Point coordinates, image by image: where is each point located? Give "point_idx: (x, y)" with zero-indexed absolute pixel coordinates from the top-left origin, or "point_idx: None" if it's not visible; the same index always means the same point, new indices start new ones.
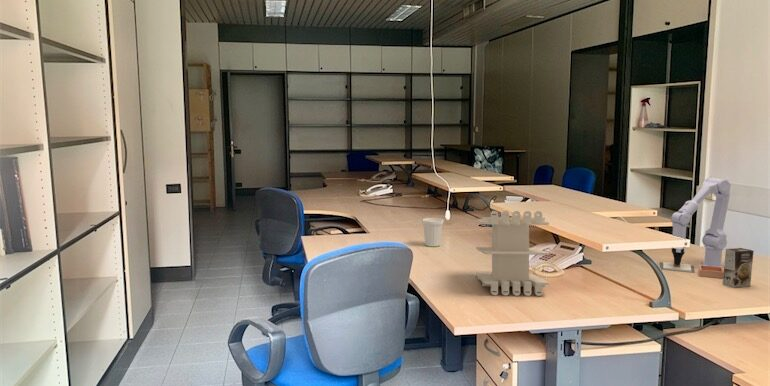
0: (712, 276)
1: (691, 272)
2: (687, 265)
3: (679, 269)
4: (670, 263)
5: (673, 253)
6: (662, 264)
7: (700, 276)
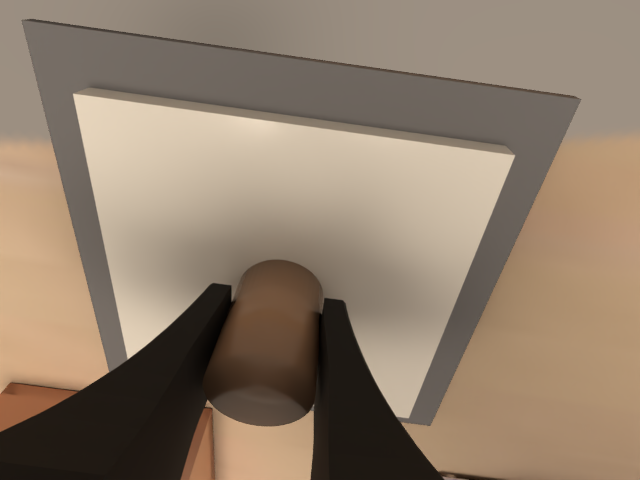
0: None
1: (116, 365)
2: None
3: (115, 289)
4: (407, 242)
5: (25, 433)
6: (414, 121)
7: (6, 396)
